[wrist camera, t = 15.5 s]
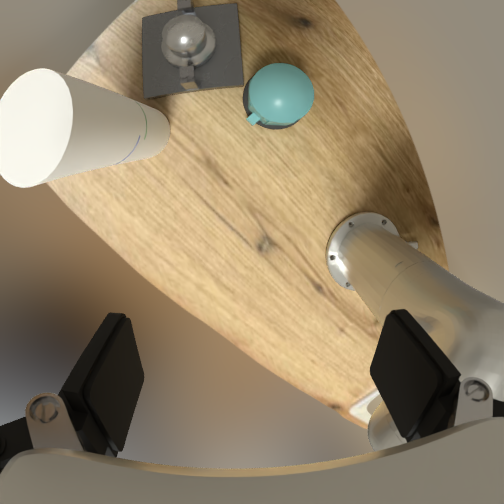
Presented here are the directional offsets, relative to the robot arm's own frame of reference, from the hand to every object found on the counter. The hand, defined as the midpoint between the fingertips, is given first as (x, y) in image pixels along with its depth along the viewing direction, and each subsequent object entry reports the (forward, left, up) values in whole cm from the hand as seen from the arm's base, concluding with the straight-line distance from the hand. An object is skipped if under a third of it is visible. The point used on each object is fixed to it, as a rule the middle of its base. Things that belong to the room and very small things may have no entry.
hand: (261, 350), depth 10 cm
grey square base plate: (+5, -21, -31) cm, 38 cm away
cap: (-5, -13, -30) cm, 33 cm away
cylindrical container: (+12, -10, -31) cm, 35 cm away
